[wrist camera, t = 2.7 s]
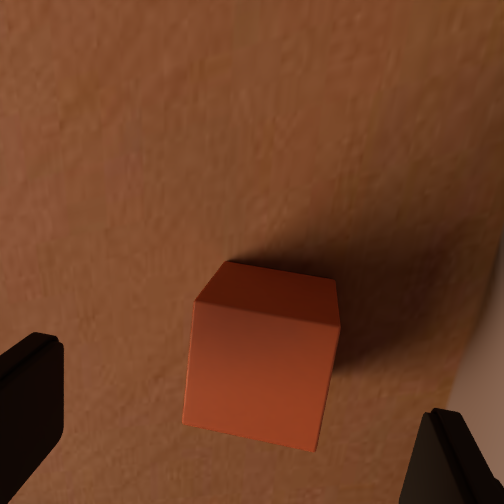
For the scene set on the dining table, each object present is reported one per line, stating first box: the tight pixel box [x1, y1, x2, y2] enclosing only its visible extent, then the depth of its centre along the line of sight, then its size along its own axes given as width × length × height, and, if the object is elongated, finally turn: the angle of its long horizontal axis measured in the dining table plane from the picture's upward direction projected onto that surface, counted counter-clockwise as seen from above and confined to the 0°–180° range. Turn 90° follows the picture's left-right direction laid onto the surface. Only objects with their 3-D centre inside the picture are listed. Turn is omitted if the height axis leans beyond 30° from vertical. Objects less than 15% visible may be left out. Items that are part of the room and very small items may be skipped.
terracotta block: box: [182, 261, 341, 452], centre depth 16 cm, size 4×4×4 cm
